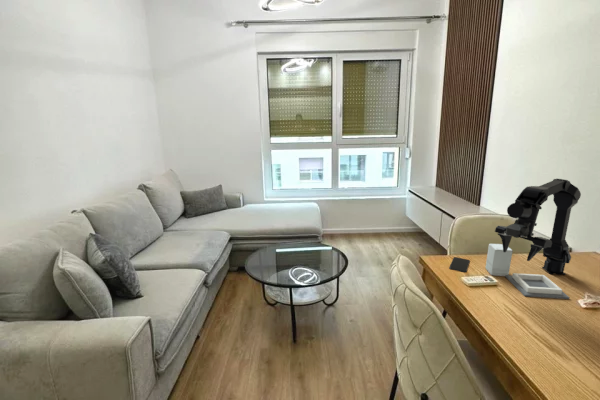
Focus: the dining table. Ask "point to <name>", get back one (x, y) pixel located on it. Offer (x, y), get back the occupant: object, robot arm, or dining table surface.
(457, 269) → the smartphone
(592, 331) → the dining table surface
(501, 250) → the supplement box
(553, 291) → the dock
